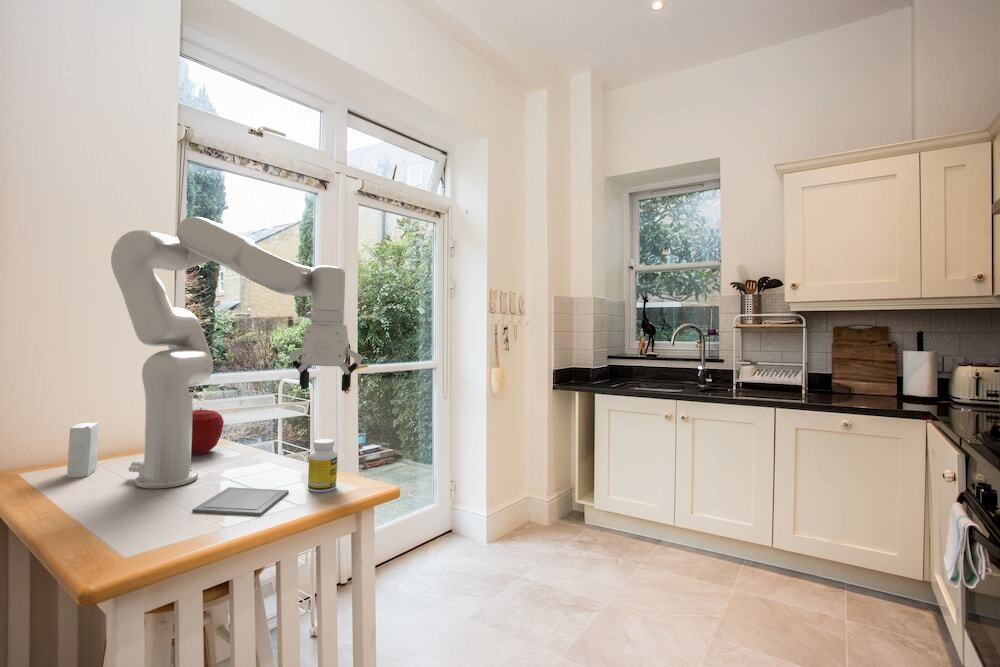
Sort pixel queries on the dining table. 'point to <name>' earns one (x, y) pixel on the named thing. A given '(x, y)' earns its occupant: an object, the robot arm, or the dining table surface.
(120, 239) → the robot arm
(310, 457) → the pill bottle
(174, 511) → the dining table surface
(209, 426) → the apple
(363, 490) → the dining table surface
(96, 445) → the skincare box
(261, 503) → the coaster
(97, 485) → the dining table surface
